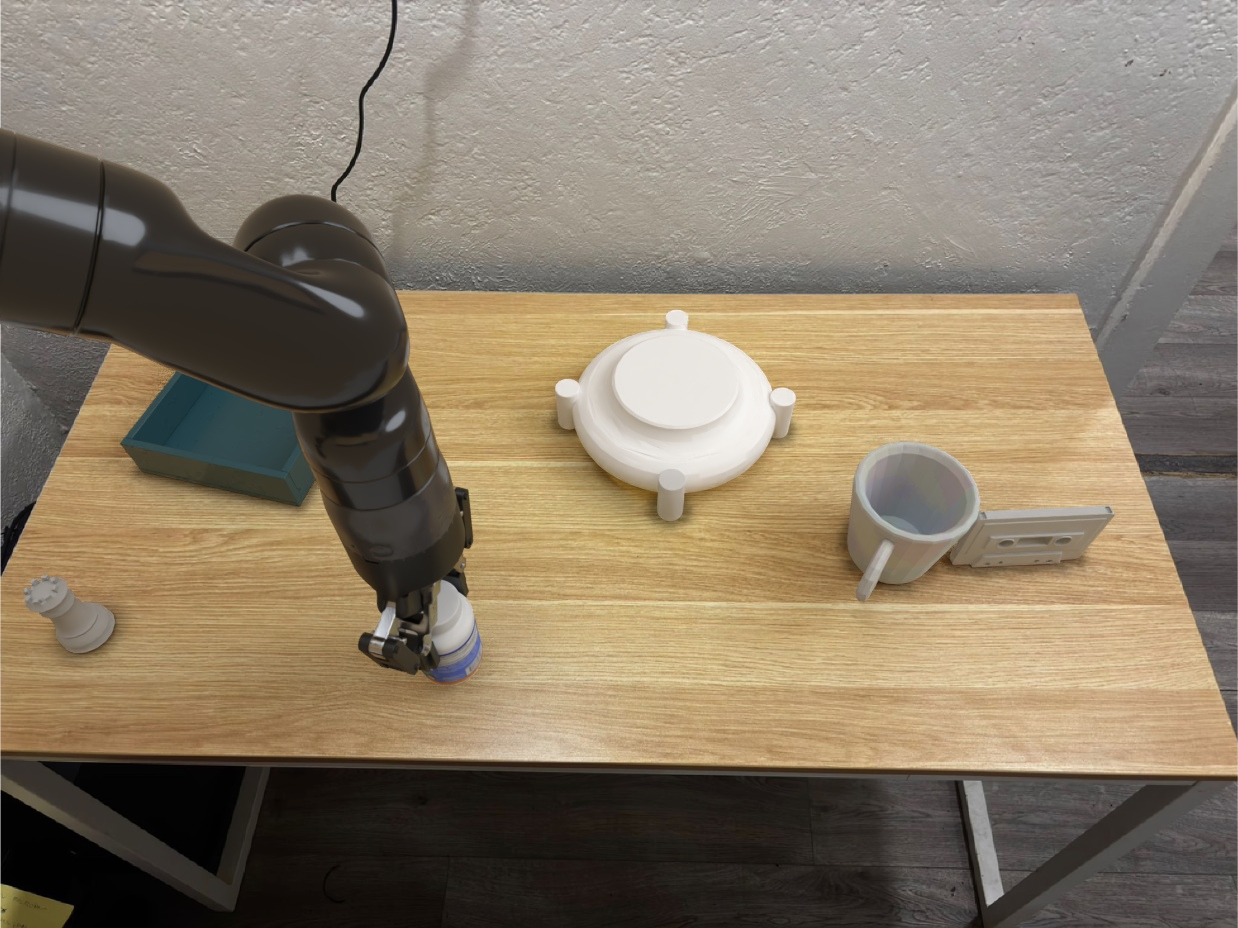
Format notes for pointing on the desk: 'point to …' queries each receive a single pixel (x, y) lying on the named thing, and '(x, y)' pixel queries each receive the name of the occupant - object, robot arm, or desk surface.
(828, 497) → the desk surface
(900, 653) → the desk surface
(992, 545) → the cassette
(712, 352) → the round stand with pegs
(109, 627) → the rook chess piece
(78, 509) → the desk surface
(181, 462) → the shallow teal tray
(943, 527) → the mug
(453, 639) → the pill bottle
